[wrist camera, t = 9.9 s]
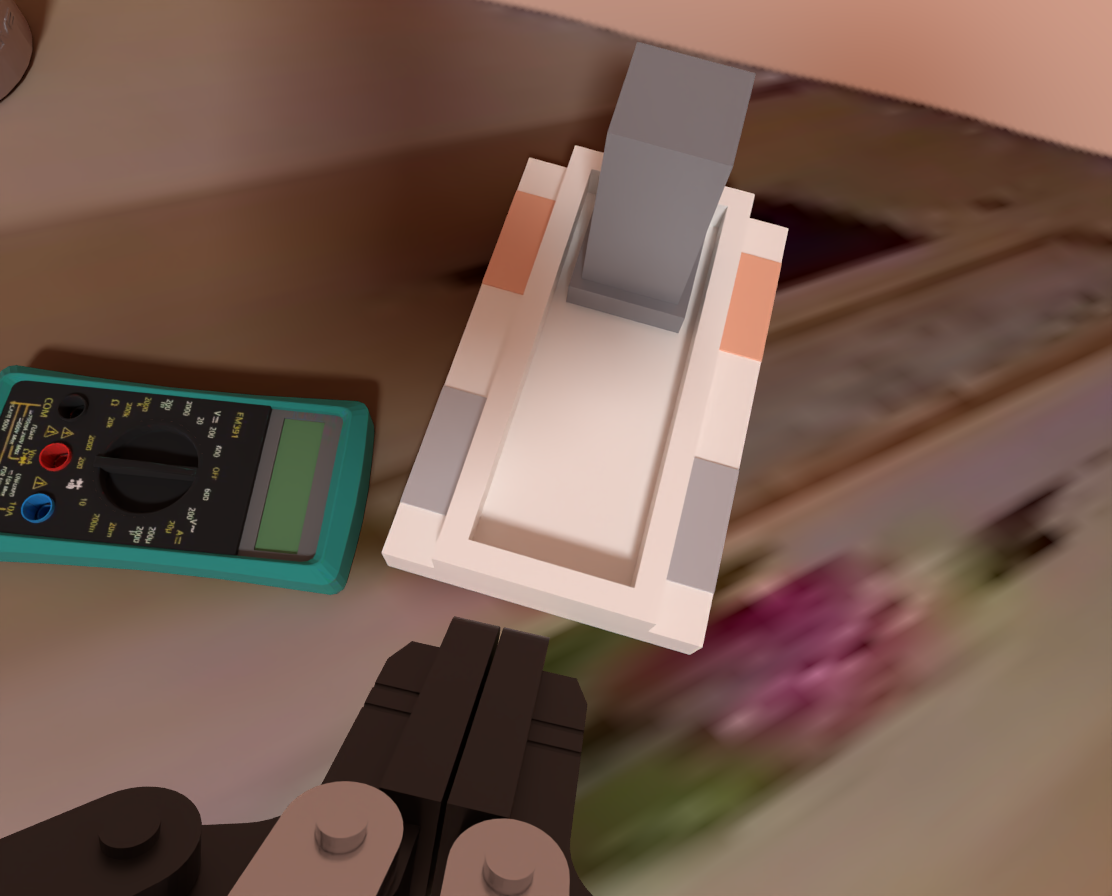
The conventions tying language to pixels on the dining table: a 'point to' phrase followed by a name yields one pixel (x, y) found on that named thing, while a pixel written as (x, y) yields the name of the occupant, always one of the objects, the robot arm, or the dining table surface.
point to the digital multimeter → (181, 479)
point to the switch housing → (592, 426)
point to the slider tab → (659, 185)
